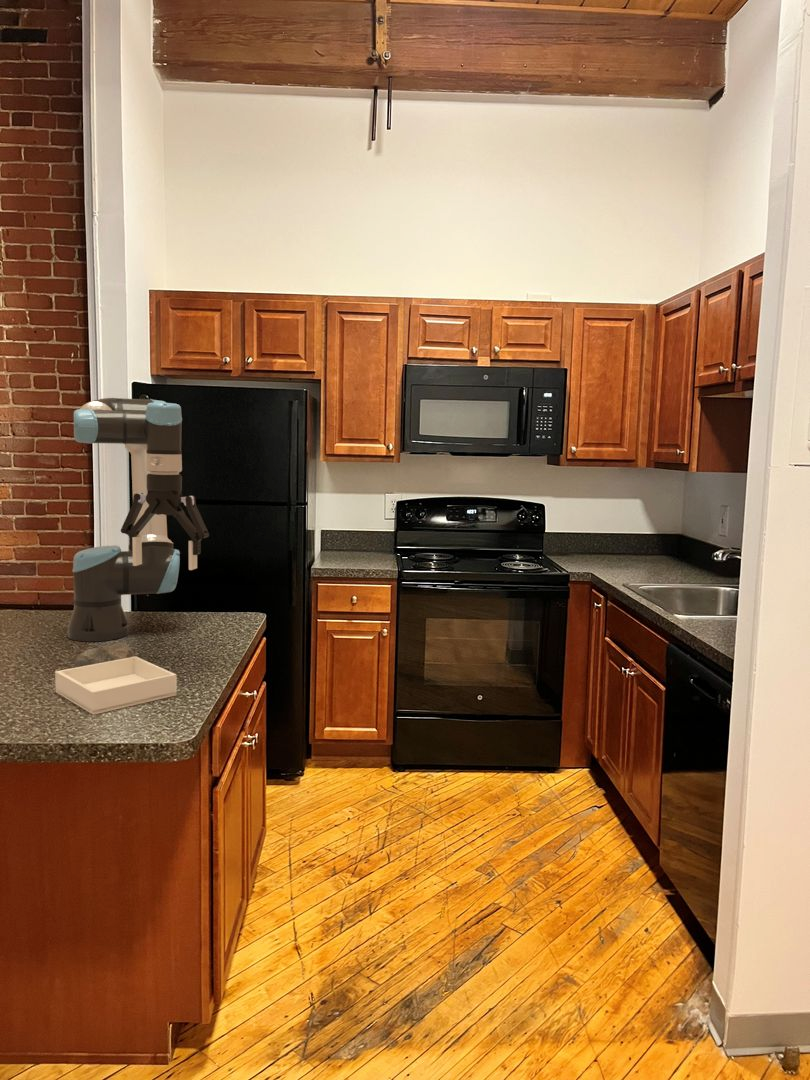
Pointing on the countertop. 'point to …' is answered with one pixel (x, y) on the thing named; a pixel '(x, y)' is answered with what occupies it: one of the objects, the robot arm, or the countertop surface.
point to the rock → (103, 654)
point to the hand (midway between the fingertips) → (165, 567)
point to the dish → (115, 684)
